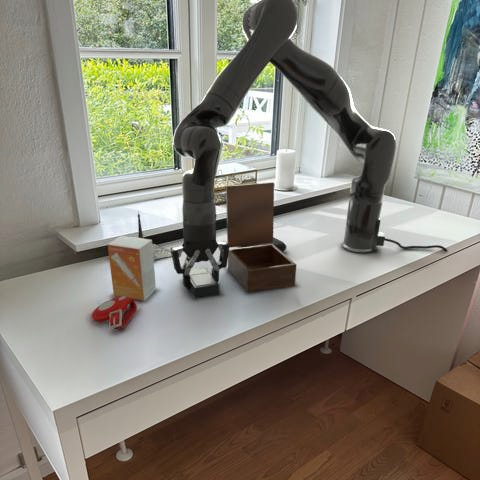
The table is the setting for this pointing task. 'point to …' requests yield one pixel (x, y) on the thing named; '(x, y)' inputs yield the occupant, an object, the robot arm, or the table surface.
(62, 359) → the table surface
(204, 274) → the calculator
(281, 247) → the carrying case
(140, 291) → the small box
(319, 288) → the table surface
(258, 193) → the cover
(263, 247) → the case
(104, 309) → the tracker holder
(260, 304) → the table surface
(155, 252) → the eiffel tower figurine
